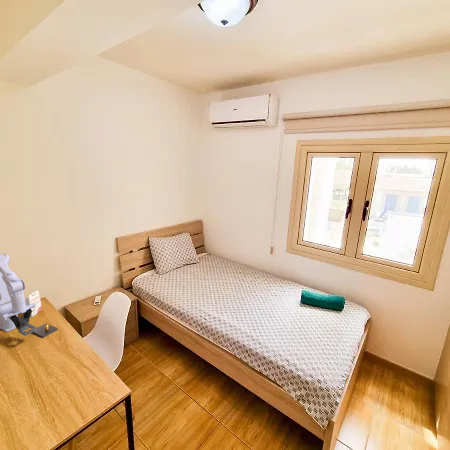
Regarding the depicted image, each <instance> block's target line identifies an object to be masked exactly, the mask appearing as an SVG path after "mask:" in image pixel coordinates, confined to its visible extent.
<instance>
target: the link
mask: <svg viewBox="0 0 450 450" xmlns="http://www.w3.org/2000/svg"><path fill="white" fill-rule="evenodd" d="M18 317H19V318H18V323H19V328H17V327H16V328H15V329H16V330H17V331H18V333H19V334H21V335H22V336H24V337H26V336H28V335H30V334H33V333H32V332H34V331H36V330H37V328H38V326H37V325H34V324H32V323H30V322H29V323H28V318H27V317H25V316H24V315H22V316H18ZM26 330H27V331H26Z"/></svg>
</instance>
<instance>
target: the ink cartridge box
mask: <svg viewBox="0 0 450 450" xmlns="http://www.w3.org/2000/svg"><path fill="white" fill-rule="evenodd" d="M25 302H26V305H30V304H33V303H34V304H36V307H35V308H31V310H32V313H31V315H30V318H33V317H34V316H36V315H38V313H40V312H41V311H43V308H42V301H41V296H40V291H39V290H35V291H33V292H32V293H31V294H29V295H28V296H27V297H25Z"/></svg>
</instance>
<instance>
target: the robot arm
mask: <svg viewBox="0 0 450 450" xmlns="http://www.w3.org/2000/svg"><path fill="white" fill-rule="evenodd" d="M9 264H10V257H9V255H8V254H7V253H1V254H0V329H1V330H3V331H4V332H6V333H7V332H10V331H12V330H14V329H16V327H17V328H19V323H18V318H19V317H20V316H19V314H23V316H25V317H27V318H28V323H29V324H30V318H31V317H30V315H31V313H32V310H31V308H35V307H36V304H34V303H33V304H30V305H26V302H25V298H26V296H25V291H24V290H25V289H26V285H25V282H24V280H23V279H22V278H19V277H18V275H17V274H16V272H15V271H11V269H10V267H9Z"/></svg>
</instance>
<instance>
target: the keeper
mask: <svg viewBox="0 0 450 450" xmlns="http://www.w3.org/2000/svg"><path fill="white" fill-rule="evenodd" d="M58 330H59V329H58V327H55V326H53V325H51V324H49V323H43V324H42V325H40V326H37V330H36V331H34V332H32V333H31V334H34V335H36V336H39V337H41V338H45V337H47V336H49V335H51V334H52V333H55V332H56V331H58Z"/></svg>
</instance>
